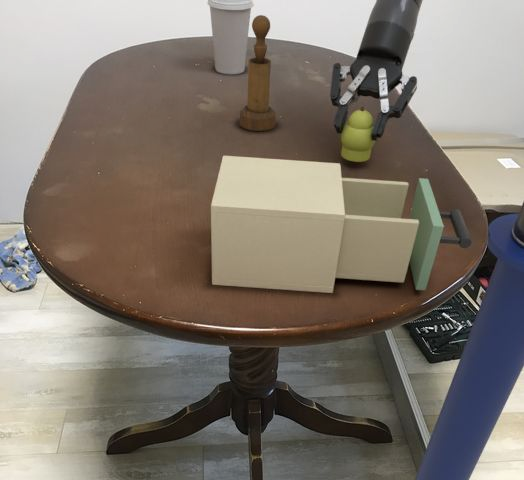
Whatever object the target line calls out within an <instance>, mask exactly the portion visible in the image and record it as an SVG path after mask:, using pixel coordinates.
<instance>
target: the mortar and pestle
mask: <svg viewBox="0 0 524 480" xmlns="http://www.w3.org/2000/svg"><path fill="white" fill-rule="evenodd" d="M251 28H252V32H253V34H254V36H255V39H256V41H255V44H253V51H254V52H253V53H254V56H255V57H252V58H249V59H248V69H247V71H248V73H247V104H246V105H245V106H243V108H241V109H240V111H239V126H240V127H241V128H243V129H245V130H247V131H252V132H262V131H270V130H272V129H274V128H275V127H276V115H277V114H276V111H275V110H274V109H273V107H271V106H270V87H271V85H270V84H271V69H272V60H271V59H269V58H267V57H266V55H267V51H268V45H267V44H266V37H267V36H268V34H269V32H270V30H271V22H270V19H269V18H268V17H267V16H266V15H262V14H261V15H256V16H255V17H254V18H253V20H252V23H251Z"/></svg>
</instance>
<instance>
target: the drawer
mask: <svg viewBox="0 0 524 480" xmlns="http://www.w3.org/2000/svg"><path fill="white" fill-rule="evenodd" d="M409 186H410V184H409V182H408V181H398V180H397V181H396V180H379V179H367V178H353V177H342V188H343V198H344V209H345V218H344V225H343V231H342V238H341V244H340V250H339V257H338V263H337V269H336V276H335V279H344V280H345V279H348V280H359V281H360V280H361V281H373V282H374V281H376V282H387V283H388V282H390V283H401V284H402V283H405V280H406V276H407V273H408V268H409V266H410V270H411V275H412V279H413V283H414V284H413V285H414V288H415V290H416V291H426V289H427V287H428V283H429V281H430V280H429V279H430V276H431V273H432V269H433V266H434V262H435V258H436V256H437V252H438V248H439V245H440V244H448V245H459V247H460V248H461V249H468V248H470V247H471V246H472V243H473V242H472V238H471V236H470V233H469V230H468V228H467V226H466V223H465V219H464V218H463V215H462V213H461V211H460V209H458V208H455V209H451V211H440V210H439V207H438V204H437V201H436V199H435V195H434V192H433V189H432V186H431V183H430V180H429V178H423V177H422V178H420V177H419V178H418V180H417V184H416V189H415V193H414V197H413V201H412V205H411V209H410V213H409V216H408V217H409V218H402V217H403V216H402V215H403V212H404V208H405V204H406V199H407V195H408V190H409ZM442 219H450V222H451V225H452V228H453V231H454V233H455V236H443V234H442V233H443V231H444V228H445V225H444V223H443V220H442Z"/></svg>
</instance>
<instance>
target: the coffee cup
mask: <svg viewBox="0 0 524 480" xmlns="http://www.w3.org/2000/svg"><path fill="white" fill-rule="evenodd" d="M207 6H209V12H210V22H211V33H212V44H213V45H212V46H213V56H214V69H215V72H217V73H220V74H223V75H239V74H242V73H244V72H245V69H246V61H247V49H248V42H249V41H248V39H249V31H250V30H249V29H250V21H251V12H252V10H251V9H252V8H253V7H254V1H253V0H207Z"/></svg>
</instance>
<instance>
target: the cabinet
mask: <svg viewBox="0 0 524 480" xmlns="http://www.w3.org/2000/svg"><path fill="white" fill-rule="evenodd" d="M342 178H343V177H342V167H341V163H340V162H339V163H338V162H337V163H336V162H323V161H322V162H321V161H311V160H310V161H309V160H293V159H281V158H280V159H279V158H264V157H252V156H251V157H250V156H235V155H234V156H233V155H222V160H221V163H220V167H219V171H218V175H217V179H216V183H215V186H214V187H215V188H214V191H213V192H214V193H213V196H212V200H211V202H210V203H211V204H210V237H211V238H210V239H211V243H210V244H211V285H213V286H226V287H227V286H228V287H238V288H239V287H242V288H253V289H254V288H255V289H267V290H268V289H269V290H282V291H283V290H284V291H285V290H286V291H296V292H297V291H298V292H309V293H310V292H312V293H324V294H325V293H327V294H334V287H335V281H336V278H335V276H336V269H337V263H338V257H339V250H340V244H341V238H342V231H343V225H344V218H345V209H344V198H343V188H342Z"/></svg>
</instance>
